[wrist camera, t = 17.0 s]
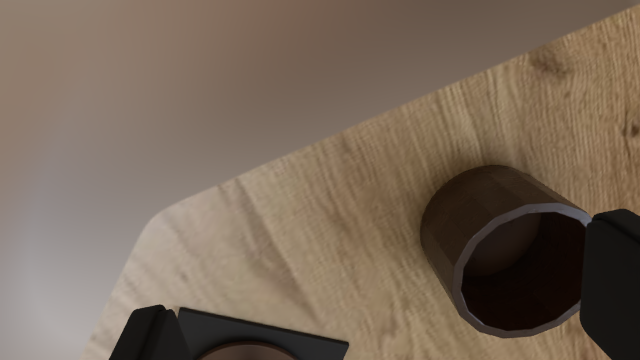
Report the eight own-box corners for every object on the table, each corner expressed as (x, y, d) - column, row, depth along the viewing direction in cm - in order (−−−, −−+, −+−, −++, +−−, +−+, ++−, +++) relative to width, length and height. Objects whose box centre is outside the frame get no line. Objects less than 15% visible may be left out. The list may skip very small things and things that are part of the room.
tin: (416, 283, 43) (445, 343, 35) (424, 168, 39) (460, 208, 31) (534, 275, 44) (588, 332, 36) (555, 161, 39) (623, 198, 32)
